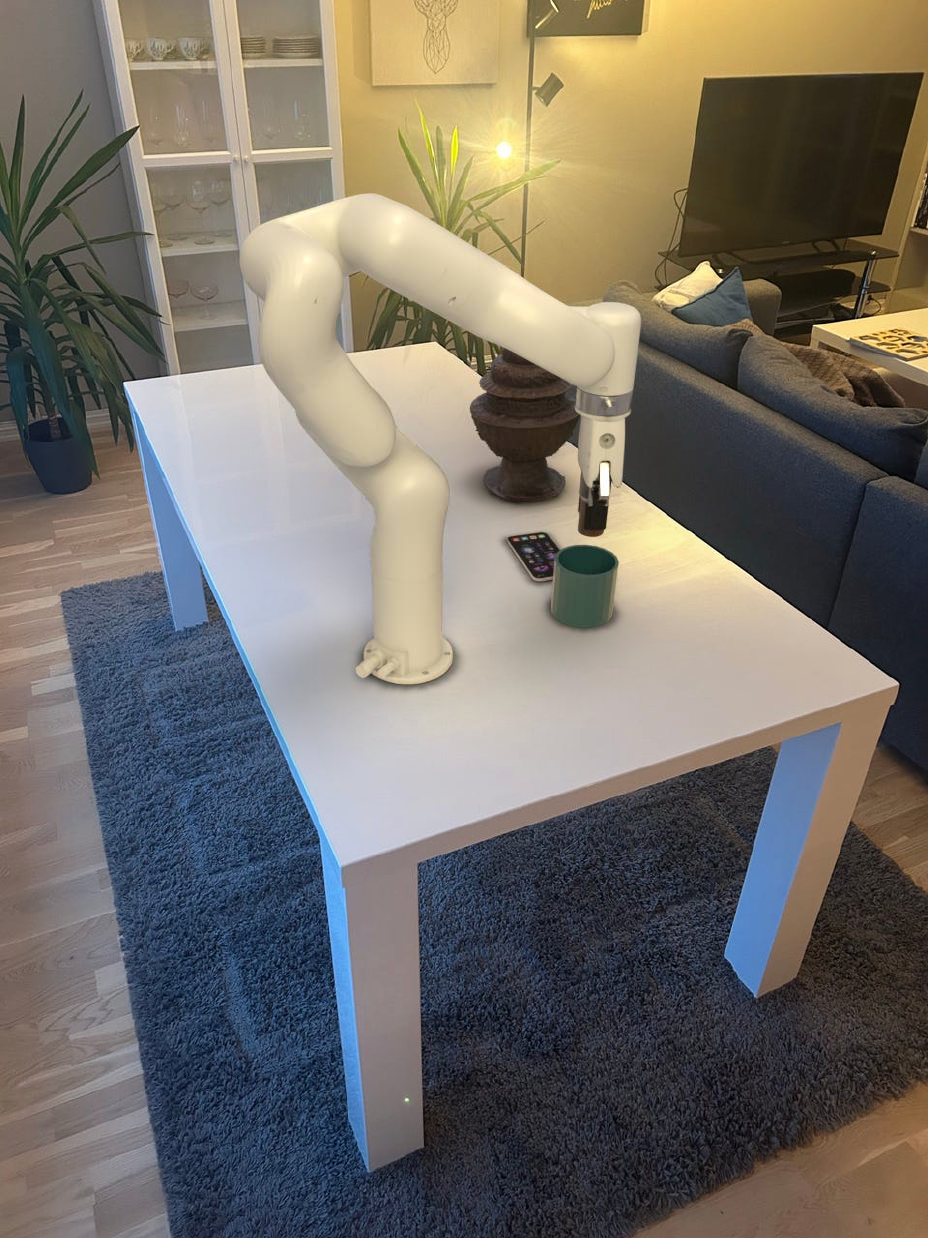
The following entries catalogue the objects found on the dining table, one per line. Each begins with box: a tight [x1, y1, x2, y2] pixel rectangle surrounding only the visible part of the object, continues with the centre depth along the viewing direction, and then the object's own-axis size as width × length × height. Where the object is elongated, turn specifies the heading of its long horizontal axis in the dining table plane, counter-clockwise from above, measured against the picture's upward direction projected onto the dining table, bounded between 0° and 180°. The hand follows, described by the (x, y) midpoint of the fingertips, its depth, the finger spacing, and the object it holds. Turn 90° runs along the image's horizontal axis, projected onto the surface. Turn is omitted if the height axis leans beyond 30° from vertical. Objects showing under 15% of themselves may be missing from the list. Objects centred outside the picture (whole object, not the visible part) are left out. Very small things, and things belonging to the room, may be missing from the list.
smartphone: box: [506, 531, 561, 582], centre depth 159 cm, size 8×1×15 cm
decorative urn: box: [469, 347, 581, 503], centre depth 173 cm, size 20×20×35 cm
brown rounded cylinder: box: [577, 470, 612, 538], centre depth 136 cm, size 4×4×11 cm
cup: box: [550, 544, 620, 629], centre depth 144 cm, size 9×9×9 cm
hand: (591, 519), depth 138 cm, fingers closed on brown rounded cylinder, 4 cm apart
